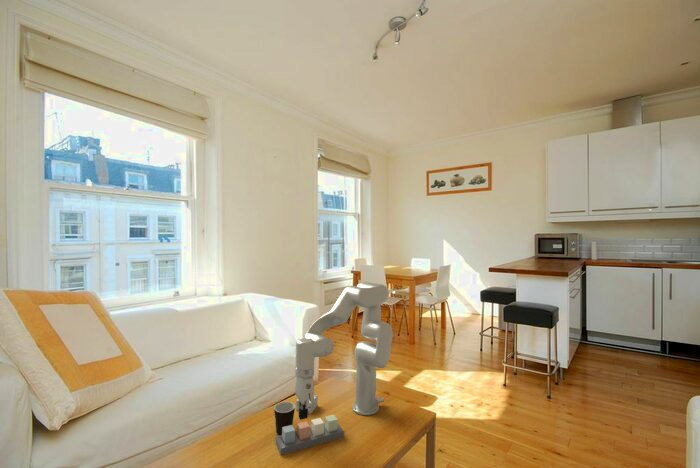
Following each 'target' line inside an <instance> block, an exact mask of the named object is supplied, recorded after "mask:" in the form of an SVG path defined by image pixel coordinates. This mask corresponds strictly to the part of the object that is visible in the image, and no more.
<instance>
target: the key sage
mask: <svg viewBox="0 0 700 468" xmlns="http://www.w3.org/2000/svg"><path fill="white" fill-rule="evenodd" d="M338 421H339V419H338V418H337V417H336V415H335V414H331V415H327V416H324V424H325V429H326V430H327V432H328V433H329V432H332V431H336V430H337V425H338V424H339V423H338Z"/></svg>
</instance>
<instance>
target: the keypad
mask: <svg viewBox="0 0 700 468" xmlns="http://www.w3.org/2000/svg"><path fill="white" fill-rule="evenodd" d="M343 429H344V428H342V427H341V426H340V424H339V423H338V425H337V430H336V431H332V432H329V433H328V432H327V430H326V429H325V423H324V434H321V435H318V436H314V435H313V434H312V432H311V427H310V438H307V439H303V440H299V438H298V436H297V430H295V442H292V443H289V444H284V442H283V440H282V435H277V436H275V446H276V447H277V450H278V452H279V455H280V456H284V455H287V454H290V453H294V452H297V451H301V450H304V449H307V448H311V447H314V446H318V445H319V446H320V445H321V444H324V443H328V442H332V441H335V440H339V439H342V438H344V437H345V430H343Z"/></svg>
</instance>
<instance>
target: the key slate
mask: <svg viewBox="0 0 700 468" xmlns="http://www.w3.org/2000/svg"><path fill="white" fill-rule="evenodd" d="M293 425H294V424H293ZM293 425H289V426H285V427H282V440H283V442H284V445H285V444H289V443H292V442H295V431H296V430H295V428H294V426H293Z"/></svg>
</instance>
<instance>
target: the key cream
mask: <svg viewBox="0 0 700 468" xmlns="http://www.w3.org/2000/svg"><path fill="white" fill-rule="evenodd" d="M310 421H311V422H310V428H311V432H312V434H313V436H318V435H321V434H324V424H325V421H323V419H322V418H321V417H318V418H313V419H311V420H310Z"/></svg>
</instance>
